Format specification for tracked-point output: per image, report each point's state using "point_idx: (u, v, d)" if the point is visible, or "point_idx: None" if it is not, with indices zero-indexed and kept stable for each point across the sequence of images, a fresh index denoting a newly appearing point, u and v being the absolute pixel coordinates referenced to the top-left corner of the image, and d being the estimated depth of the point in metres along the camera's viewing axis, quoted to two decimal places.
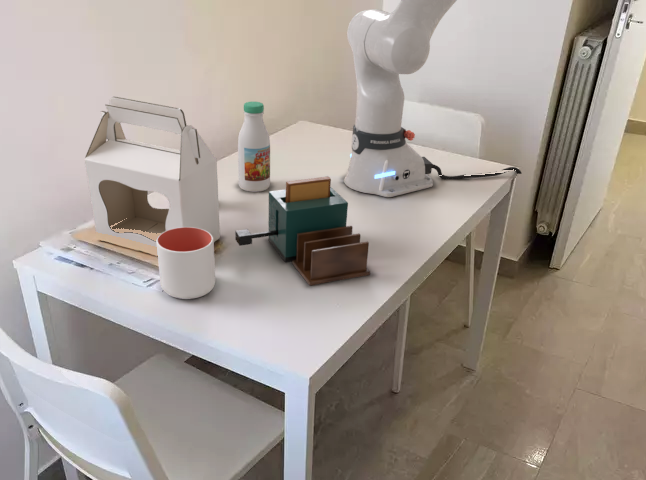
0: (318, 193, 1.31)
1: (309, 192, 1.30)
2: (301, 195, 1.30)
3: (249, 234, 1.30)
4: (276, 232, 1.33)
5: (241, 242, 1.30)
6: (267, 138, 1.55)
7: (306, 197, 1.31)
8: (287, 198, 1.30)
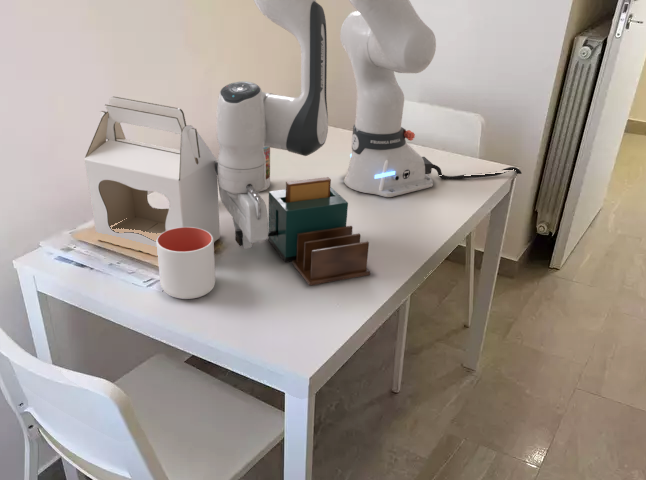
0: (318, 193, 1.31)
1: (309, 192, 1.30)
2: (301, 195, 1.30)
3: None
4: (276, 232, 1.33)
5: (241, 242, 1.30)
6: None
7: (306, 198, 1.31)
8: (287, 199, 1.30)
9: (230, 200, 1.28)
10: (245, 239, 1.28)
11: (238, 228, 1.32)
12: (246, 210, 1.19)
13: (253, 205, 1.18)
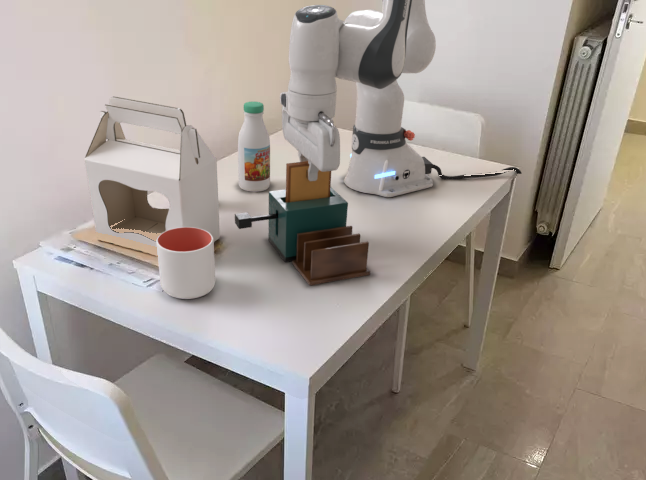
0: (319, 175, 1.29)
1: None
2: (302, 177, 1.28)
3: (249, 217, 1.28)
4: (276, 215, 1.31)
5: (241, 225, 1.28)
6: (267, 138, 1.55)
7: (307, 179, 1.29)
8: (287, 180, 1.28)
9: (297, 133, 1.26)
10: (311, 171, 1.26)
11: None
12: (319, 137, 1.17)
13: (327, 132, 1.16)
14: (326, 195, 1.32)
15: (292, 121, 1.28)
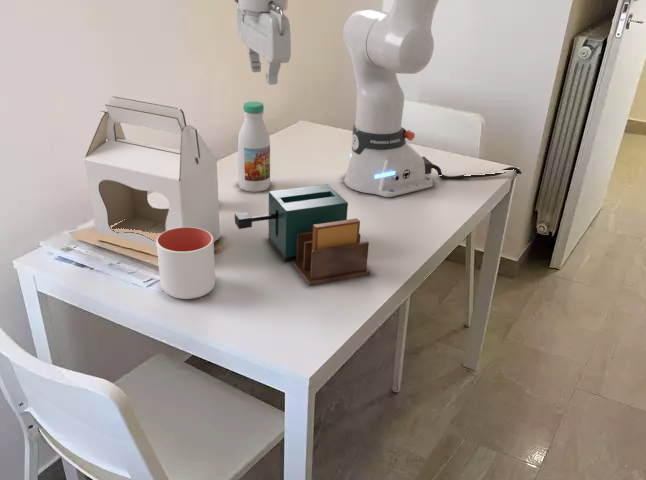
0: (347, 236, 1.24)
1: (337, 235, 1.23)
2: (329, 238, 1.23)
3: (249, 217, 1.28)
4: (276, 215, 1.31)
5: (241, 225, 1.28)
6: (267, 138, 1.55)
7: (334, 240, 1.24)
8: (314, 242, 1.23)
9: (250, 30, 1.24)
10: (270, 73, 1.22)
11: (253, 61, 1.30)
12: (268, 26, 1.15)
13: (276, 20, 1.14)
14: None
15: (246, 19, 1.26)
